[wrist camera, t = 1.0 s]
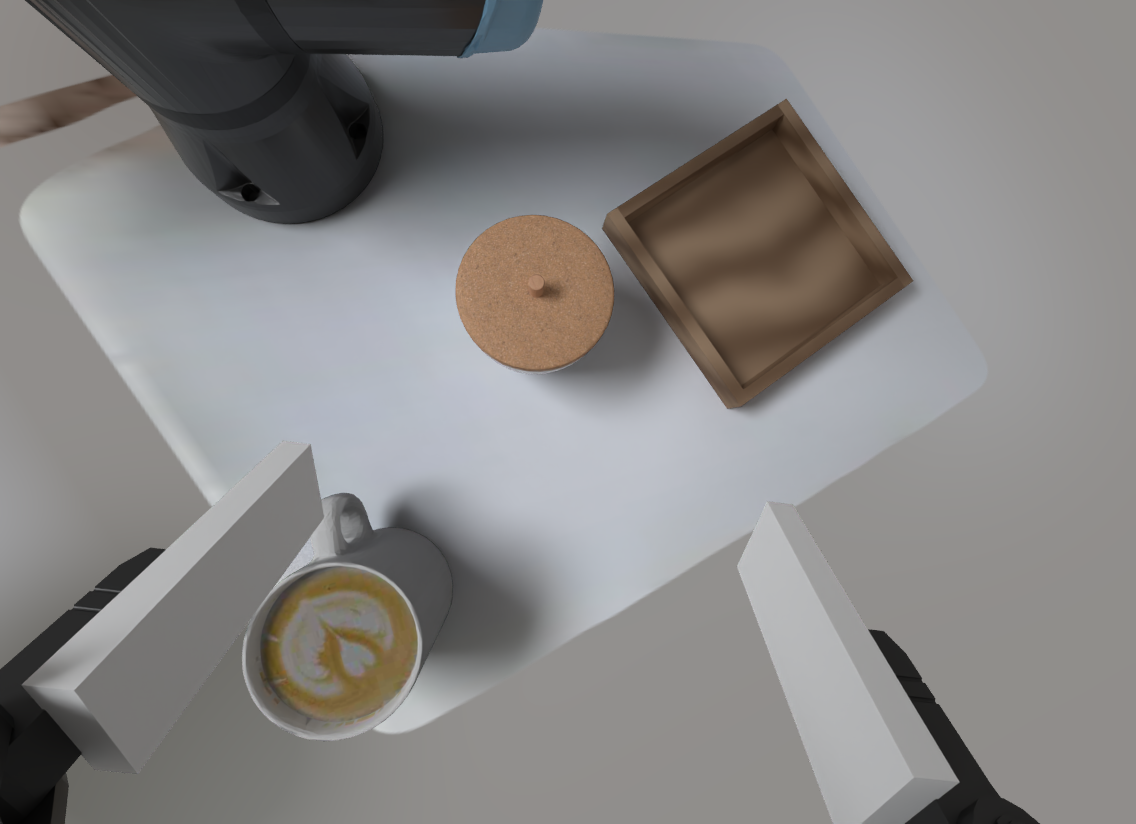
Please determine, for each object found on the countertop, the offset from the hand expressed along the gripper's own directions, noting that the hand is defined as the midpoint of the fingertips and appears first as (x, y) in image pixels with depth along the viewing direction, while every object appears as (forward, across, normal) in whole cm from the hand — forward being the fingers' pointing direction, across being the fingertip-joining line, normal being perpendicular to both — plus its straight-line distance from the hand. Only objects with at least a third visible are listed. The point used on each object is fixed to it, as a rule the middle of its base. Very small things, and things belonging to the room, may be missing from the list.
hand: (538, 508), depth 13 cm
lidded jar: (+26, -2, -3) cm, 27 cm away
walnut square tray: (+31, +16, +3) cm, 35 cm away
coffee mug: (+14, -11, -21) cm, 28 cm away
